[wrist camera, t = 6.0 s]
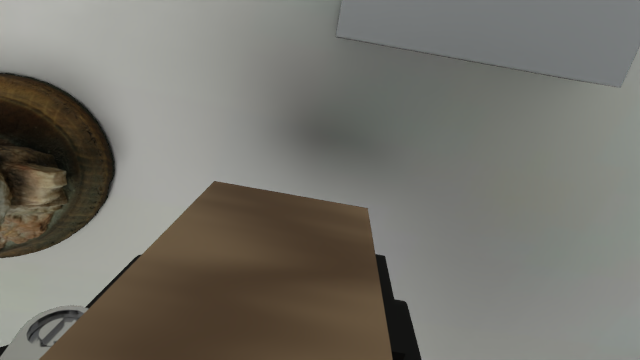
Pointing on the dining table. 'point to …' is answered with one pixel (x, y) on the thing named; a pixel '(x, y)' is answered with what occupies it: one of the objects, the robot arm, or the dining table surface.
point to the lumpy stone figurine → (47, 165)
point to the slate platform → (507, 33)
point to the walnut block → (243, 287)
